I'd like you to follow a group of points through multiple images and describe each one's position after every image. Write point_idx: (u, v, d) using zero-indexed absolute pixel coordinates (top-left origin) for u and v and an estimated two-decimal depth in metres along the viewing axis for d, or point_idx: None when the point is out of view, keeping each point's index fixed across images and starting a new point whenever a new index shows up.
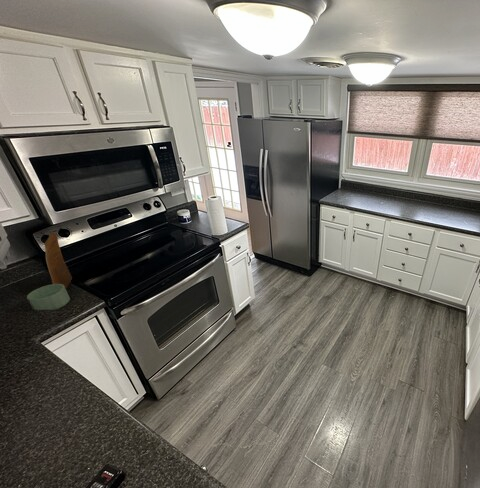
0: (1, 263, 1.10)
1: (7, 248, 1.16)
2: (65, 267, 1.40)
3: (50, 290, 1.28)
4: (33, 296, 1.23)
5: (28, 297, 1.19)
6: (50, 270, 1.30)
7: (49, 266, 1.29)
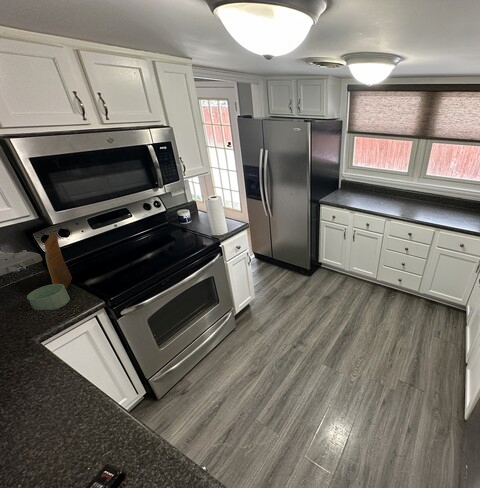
0: (24, 266, 1.26)
1: (7, 272, 1.23)
2: (65, 267, 1.40)
3: (50, 290, 1.28)
4: (33, 296, 1.23)
5: (28, 297, 1.19)
6: (50, 270, 1.30)
7: (49, 266, 1.29)
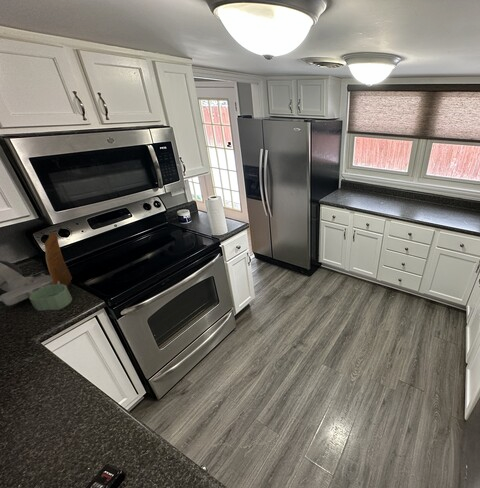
0: None
1: (27, 297, 1.25)
2: (65, 267, 1.40)
3: (51, 291, 1.28)
4: (35, 297, 1.22)
5: (30, 298, 1.19)
6: (50, 270, 1.30)
7: (49, 266, 1.29)
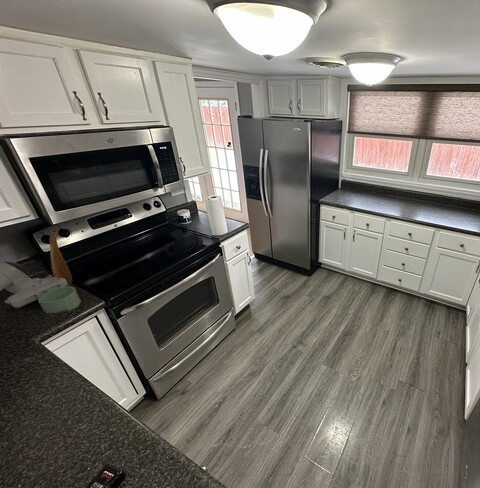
0: None
1: (35, 299, 1.24)
2: (67, 267, 1.40)
3: (60, 293, 1.27)
4: (43, 299, 1.21)
5: (39, 300, 1.17)
6: (55, 269, 1.31)
7: (55, 265, 1.30)
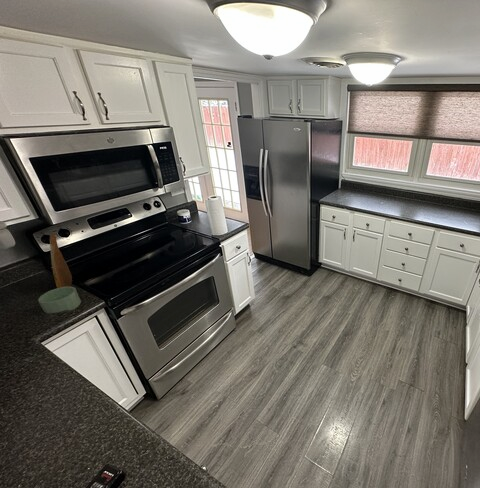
0: None
1: None
2: (67, 267, 1.40)
3: (60, 293, 1.27)
4: (44, 299, 1.21)
5: (40, 300, 1.17)
6: (56, 269, 1.31)
7: (55, 265, 1.30)
